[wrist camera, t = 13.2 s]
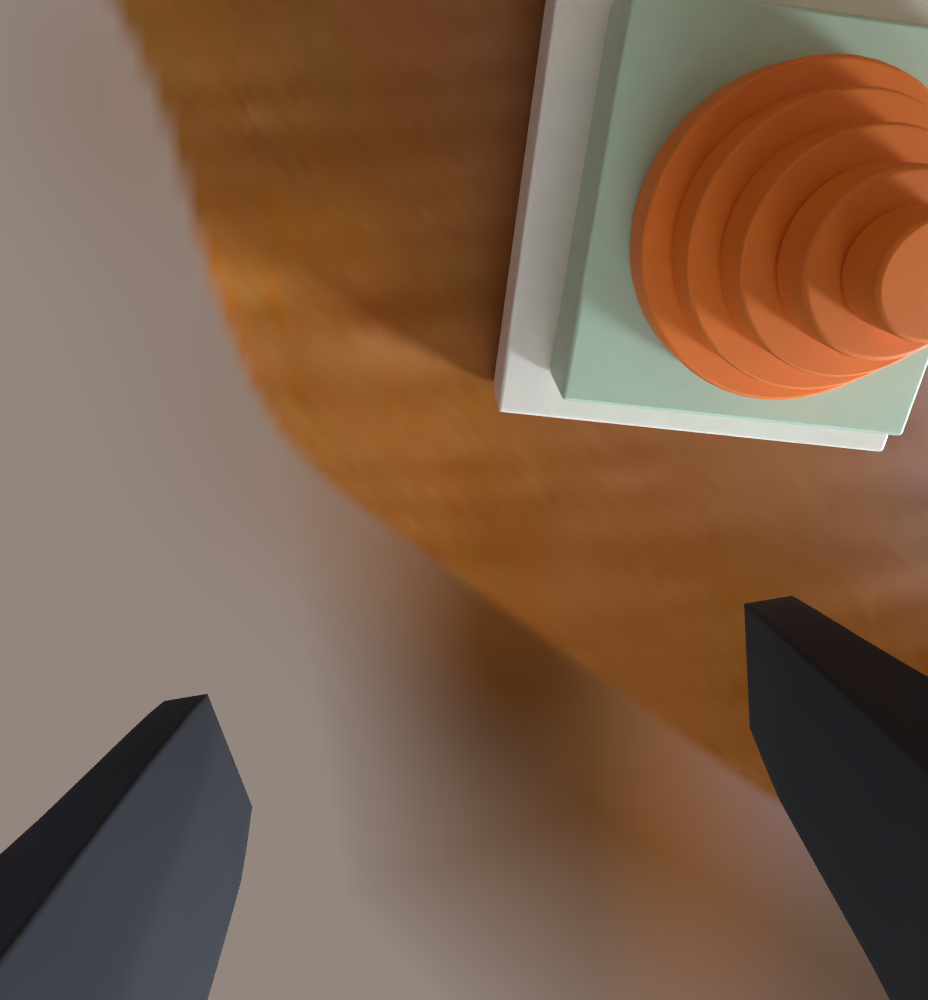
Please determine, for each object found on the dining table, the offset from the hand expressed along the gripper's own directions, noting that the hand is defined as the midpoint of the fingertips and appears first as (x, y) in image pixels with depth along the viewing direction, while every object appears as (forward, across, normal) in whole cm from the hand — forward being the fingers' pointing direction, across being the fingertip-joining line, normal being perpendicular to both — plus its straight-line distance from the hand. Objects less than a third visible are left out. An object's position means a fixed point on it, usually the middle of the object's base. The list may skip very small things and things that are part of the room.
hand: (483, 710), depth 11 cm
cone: (+6, -6, -4) cm, 10 cm away
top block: (+8, -7, -4) cm, 11 cm away
